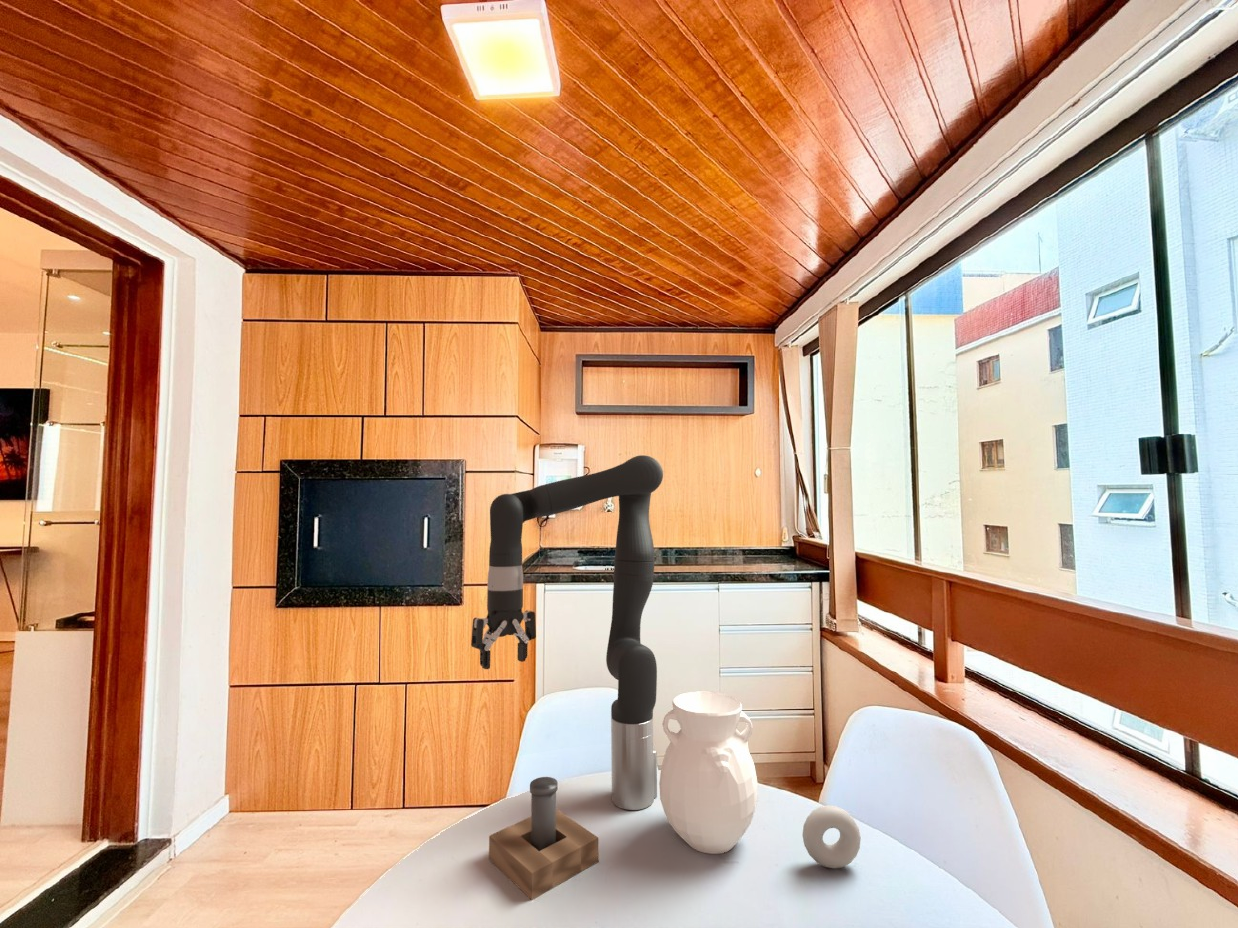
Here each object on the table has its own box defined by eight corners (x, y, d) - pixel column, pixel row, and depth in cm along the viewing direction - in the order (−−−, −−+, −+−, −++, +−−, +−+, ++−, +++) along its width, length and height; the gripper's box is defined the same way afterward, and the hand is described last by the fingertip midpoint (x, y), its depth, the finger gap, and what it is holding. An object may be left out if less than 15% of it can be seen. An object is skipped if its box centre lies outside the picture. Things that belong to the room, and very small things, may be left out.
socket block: (552, 828, 104) (553, 806, 105) (598, 861, 94) (598, 837, 95) (488, 859, 95) (489, 835, 95) (531, 899, 85) (532, 872, 85)
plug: (546, 847, 98) (547, 774, 99) (562, 860, 94) (563, 783, 96) (523, 859, 95) (524, 783, 96) (539, 873, 91) (539, 793, 92)
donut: (807, 873, 90) (805, 811, 92) (800, 860, 94) (798, 801, 95) (866, 873, 91) (862, 811, 92) (856, 860, 94) (853, 800, 95)
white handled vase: (751, 813, 109) (747, 687, 112) (767, 872, 91) (762, 720, 93) (661, 809, 111) (659, 685, 114) (659, 866, 93) (656, 717, 95)
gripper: (483, 591, 106) (482, 675, 105) (542, 585, 116) (542, 661, 114) (466, 588, 112) (464, 667, 110) (524, 582, 121) (523, 655, 120)
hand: (504, 664), depth 112 cm, fingers open, 8 cm apart
